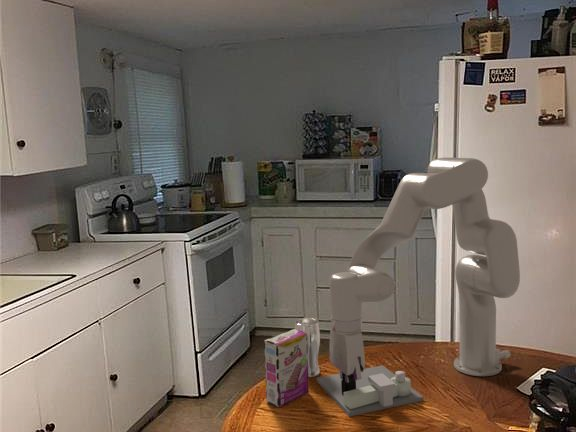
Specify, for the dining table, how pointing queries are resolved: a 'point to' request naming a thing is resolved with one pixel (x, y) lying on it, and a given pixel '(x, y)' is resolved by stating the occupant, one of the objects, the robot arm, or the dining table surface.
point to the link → (376, 392)
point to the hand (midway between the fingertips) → (349, 395)
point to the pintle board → (369, 377)
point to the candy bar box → (286, 367)
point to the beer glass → (311, 342)
